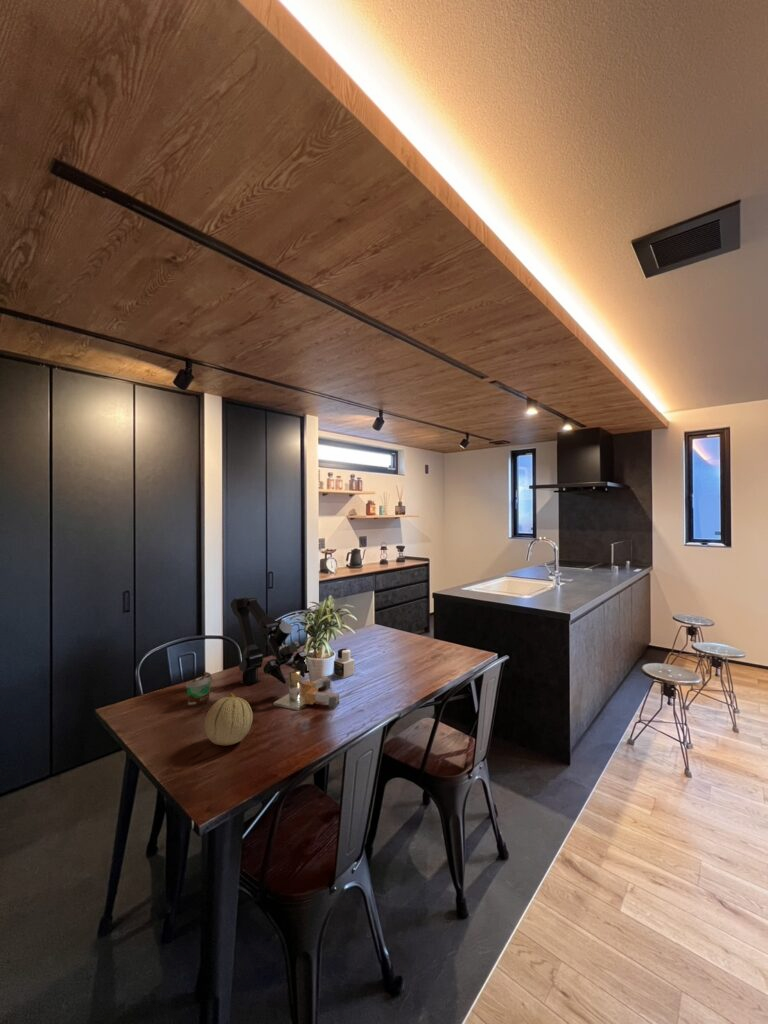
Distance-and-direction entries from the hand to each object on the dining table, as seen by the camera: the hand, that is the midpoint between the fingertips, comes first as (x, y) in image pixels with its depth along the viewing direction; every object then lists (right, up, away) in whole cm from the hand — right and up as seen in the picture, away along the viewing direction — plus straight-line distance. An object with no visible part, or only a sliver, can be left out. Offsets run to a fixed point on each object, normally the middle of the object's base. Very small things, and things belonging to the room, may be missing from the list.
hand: (294, 680), depth 166 cm
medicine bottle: (+17, -10, +29) cm, 35 cm away
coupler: (0, -8, 0) cm, 8 cm away
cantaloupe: (-15, -8, -31) cm, 36 cm away
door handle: (-3, -11, +44) cm, 46 cm away
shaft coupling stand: (+8, -9, +3) cm, 12 cm away
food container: (-38, -10, +1) cm, 39 cm away
